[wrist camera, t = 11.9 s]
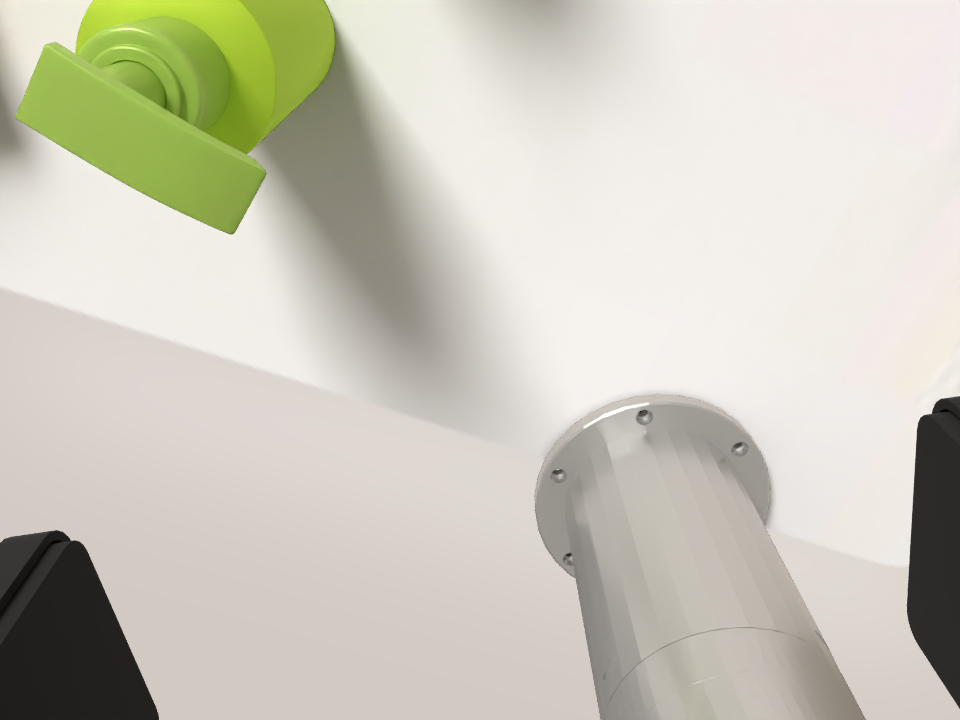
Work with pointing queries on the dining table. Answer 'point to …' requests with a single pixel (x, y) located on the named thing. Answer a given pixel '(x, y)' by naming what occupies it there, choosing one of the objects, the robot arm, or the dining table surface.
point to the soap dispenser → (181, 94)
